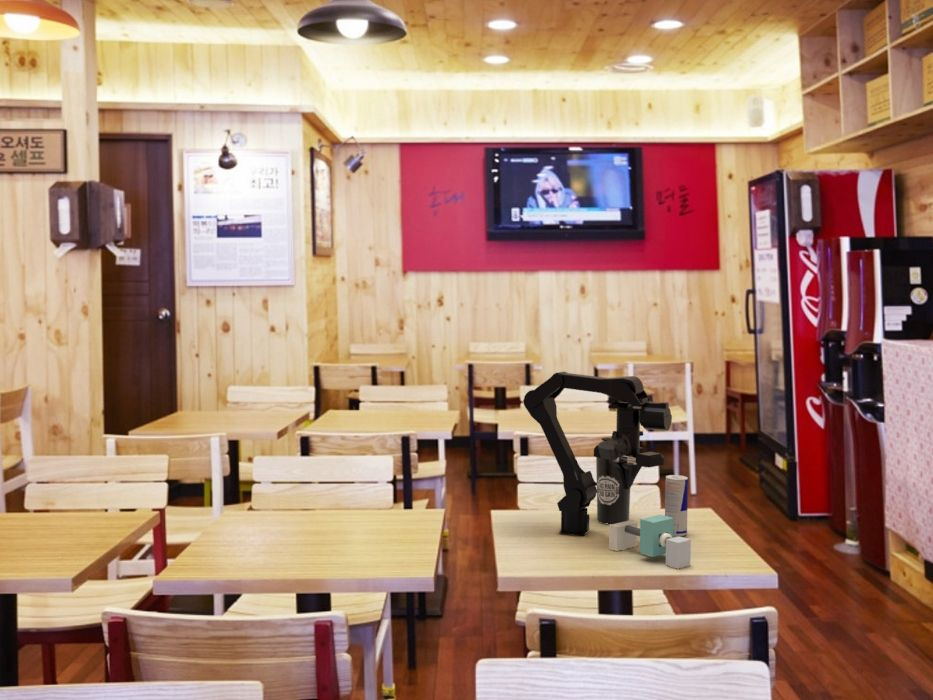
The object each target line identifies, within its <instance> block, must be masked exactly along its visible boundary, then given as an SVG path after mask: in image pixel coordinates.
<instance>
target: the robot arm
mask: <svg viewBox="0 0 933 700" xmlns="http://www.w3.org/2000/svg"><path fill="white" fill-rule="evenodd" d="M564 389H568V390H569V389H570V390H576V391H584V392H591V393H599V394H603V395H605V396H608V397H610V398H612V399H614V400H613V401H612V402H611V403H610V404H609V405H607V407H608V409H613V410H616V428H615V429H616V430H613V431H612V433H611V437H612V438H611V437H610V438H611V439H610V440H607V441H605V442H604V443H602V444H601V445H598V444H597V445H595V447H594V448H593V457H595V458H596V457H599V458H601V459H608V460H610V463H612V464H614V465H615V466H616V467H617V469H618V471H619V473H620V476H621V479H622V482H623V485H624V488H625V489H626V490H629V489H630V490H631V487H632V486H633V483H634V482H635V479H636V478H637V475H638V474H639V472H640V470H642V467H643V468H653V467H659V466H664V462H665V461H664V459H665V458H664V455H663V453H660V452H655V451H646V452H643V451H644V448H643V447H640V446H641V445H640V444H641V443H640V439H641V437H642V436H644V431H643V430H641V429H640V428H641V427H643V429H645V430H653V431H655V430H656V431H665V432H666V431H667V432H668V431H669V430H670V428H671V425H672V421H673V414H672V413H671V409H670V405H669V404H670V403H669V402H668V401H667V402H665V401H663V402H655V401H652V400H651V398H650V396H649V395H648V394H647V392H646V390H645V389H644V385H643V382H642V380H641V379H640V378H639V377H637V376H635V375H630V376H617V377H614V376H613V377H602V376H596V375H595V376H593V375H586V374H577V373H571V372H570V373H569V372H566V371H559V372H555V373H553V374H552V376H550V377H549V378H548V379H547V380H545V381H544V382H543V383H541V384H540V385H539V386H537V387H536V388H535V389H531V390H528V391H527V392H525V395H524V397H523V405H524V408H525V409H526V410H527V412H528V414H529V415H530V416H531V418H533V420H534V421H536V423H537V424H539V426H540V428H541V430H542V432H543V434H544V437H545V438H546V441H547V443H548V444H549V447H550V450H551V452H552V453H553V456H554V458H555V460H556V462H557V464H558V466H559V468H560V471H561V473H562V479H563V480H562V481H563V482H562V483H563V489H564V494H565V495H564V496H563V497H562V498H561V499H560V500H559V501H558V502H557V503H556V505H557V508H558V510H559V512H560V521H561V522H560V530H559V532H558V533H559V535H570V536H579V537H584V536H585V535H587V533H588V532H589V531H590V514H588V507H590V504H591V503H592V501H593V500H595V498H597V481H595V479H594V477H593V474H592V471H591V470H588V471H585V470H583V469H582V468H581V467H580V464H579V462H578V460H577V458H576V456H575V454H574V452H573V450H572V448H571V445H570V443H569V441H568V439H567V436H566V435H565V432H564V429H563V428H562V425H561V424H560V421H559V419H558V417H557V415H558V414H557V413H558V411H557V409H558V408H557V404H556V400H555V399H557V397H559V396H560V395H561V393H562V392H563V391H564ZM630 455H632V456H630Z"/></svg>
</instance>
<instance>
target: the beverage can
mask: <svg viewBox="0 0 933 700" xmlns="http://www.w3.org/2000/svg"><path fill="white" fill-rule="evenodd" d="M688 479H689V477H687V476H686V475H685V476H684V475H678V474H677V475H676V474H669V475H665V489H664V491H665V492H664V496H665V497H664V499H665V500H664V516H668V517H672V518H674V534H673V537H678V536H680V537H684V536H686V535H687V534H688V505H689V504H688V500H689V497H688V496H689V480H688Z"/></svg>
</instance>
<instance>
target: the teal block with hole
mask: <svg viewBox="0 0 933 700" xmlns="http://www.w3.org/2000/svg"><path fill="white" fill-rule="evenodd" d="M639 521H640V522H639V523H640V524H639V529H640V536H639V554H642V555H645V556H648V557H651V558H655V557H659V556H662V555H666V547H662V546H661V545H660V544H659V534H660V535H661V534H662V533H668V534H670V535H671V536H672V538H674V536H673V534H674V518H672V517H668V516H665V514H657V515H653V516H652V515H651V516H648V517H644V518H640V519H639Z"/></svg>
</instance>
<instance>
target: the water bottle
mask: <svg viewBox="0 0 933 700" xmlns="http://www.w3.org/2000/svg"><path fill="white" fill-rule="evenodd" d="M611 438H612V436H611V437H602V438H601V441H600V442H599V443H598V444H597V445H601V444H602V443H604V442H605V441H607V440H610V439H611ZM630 456H632V455H630ZM595 458H596V459H595V461H596V463H595V467H596V469H595V470H596V472H595V473H596V483H597V485H596V489H597V493H596V508H597V510H596V512H597V513H596V514H597V516H596V517H597V518H596V519H597V520H598V521H599V522H598V521H597V522H598V523H600V522H602V523H601V524H603V523H608V524H616V523H620V522H625V521H629V520H630V505H631V504H630V502H631V488H630V489H629V490H626V489H625V488H624V485H623V482H622V479H621V476H620V473H619V471H618V469H617V467H616V466H615V465H614V464H612V463H610V460H608V459H601V458H599V457H595ZM608 524H607V525H608Z"/></svg>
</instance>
